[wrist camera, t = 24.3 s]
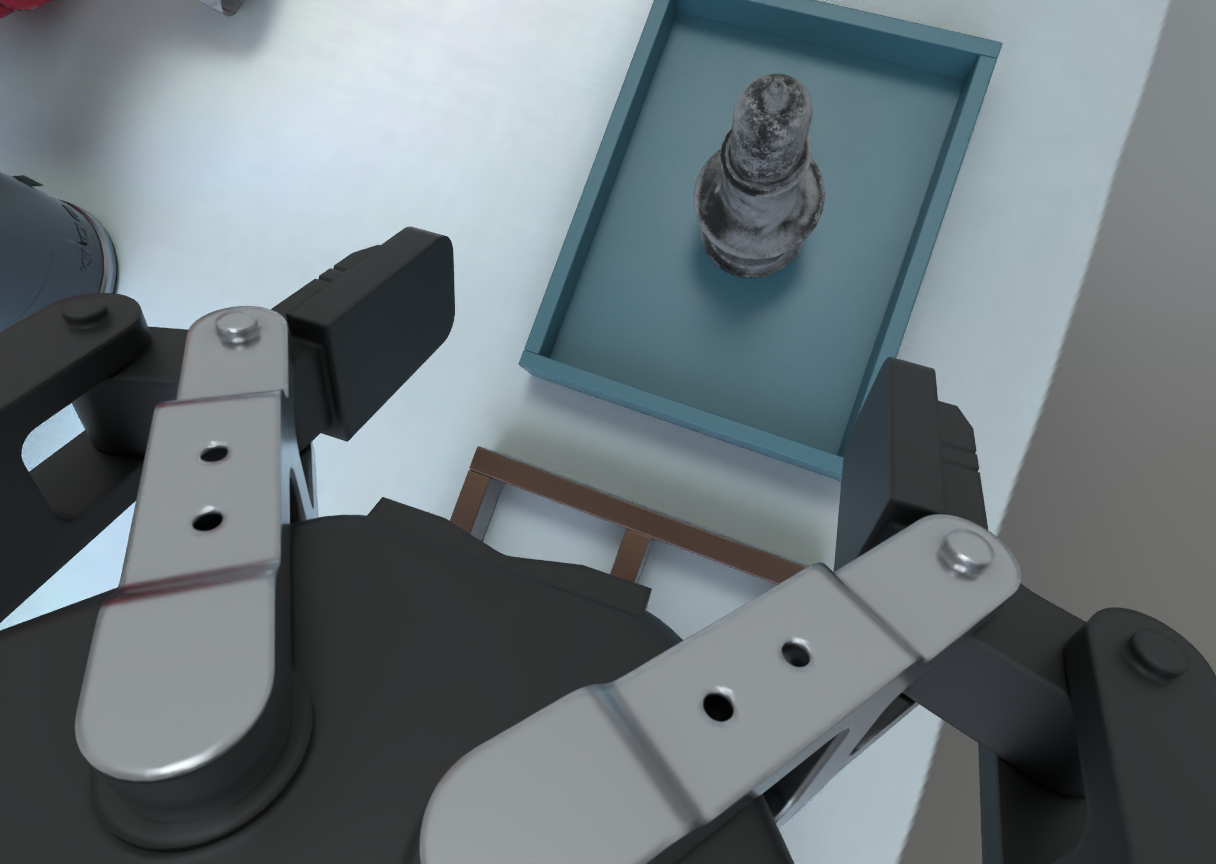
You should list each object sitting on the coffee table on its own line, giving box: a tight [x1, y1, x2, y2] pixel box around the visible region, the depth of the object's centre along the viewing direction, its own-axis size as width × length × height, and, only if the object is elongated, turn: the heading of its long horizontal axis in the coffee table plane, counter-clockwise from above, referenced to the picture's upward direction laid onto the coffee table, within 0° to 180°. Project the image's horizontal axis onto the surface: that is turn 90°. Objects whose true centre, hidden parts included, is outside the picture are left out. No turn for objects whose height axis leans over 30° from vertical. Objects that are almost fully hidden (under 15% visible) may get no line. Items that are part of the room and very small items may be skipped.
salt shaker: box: [693, 74, 825, 279], centre depth 29 cm, size 6×6×12 cm
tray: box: [519, 0, 1002, 481], centre depth 34 cm, size 22×17×3 cm
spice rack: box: [450, 447, 809, 585], centre depth 33 cm, size 18×18×2 cm
